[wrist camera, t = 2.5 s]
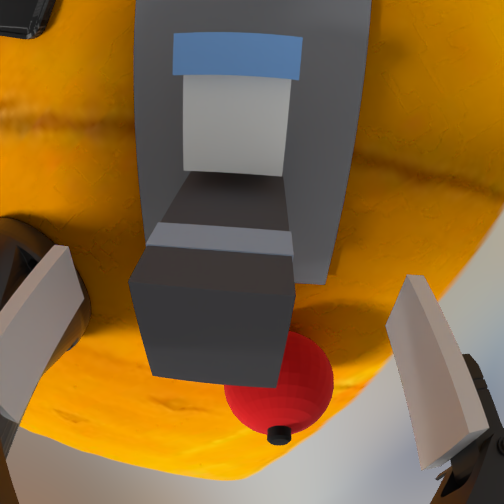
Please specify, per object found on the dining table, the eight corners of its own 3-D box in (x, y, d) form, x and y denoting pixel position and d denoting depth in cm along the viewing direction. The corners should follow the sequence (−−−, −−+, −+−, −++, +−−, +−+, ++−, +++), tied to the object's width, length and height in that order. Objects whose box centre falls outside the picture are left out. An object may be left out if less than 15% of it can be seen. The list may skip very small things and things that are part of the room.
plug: (203, 218, 21) (151, 376, 11) (202, 150, 18) (125, 279, 8) (274, 224, 21) (277, 389, 11) (281, 155, 18) (298, 294, 8)
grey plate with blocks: (153, 263, 24) (119, 339, 18) (152, -88, 10) (99, -137, 3) (323, 276, 24) (338, 358, 18) (368, -80, 10) (416, -130, 3)
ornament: (221, 309, 27) (205, 416, 18) (330, 304, 26) (349, 411, 18) (236, 372, 32) (228, 461, 23) (324, 368, 31) (334, 457, 23)
